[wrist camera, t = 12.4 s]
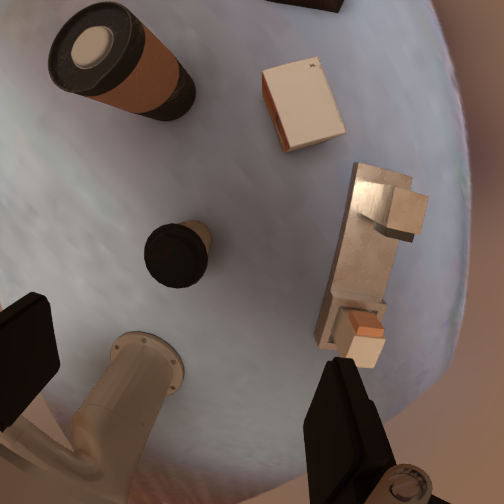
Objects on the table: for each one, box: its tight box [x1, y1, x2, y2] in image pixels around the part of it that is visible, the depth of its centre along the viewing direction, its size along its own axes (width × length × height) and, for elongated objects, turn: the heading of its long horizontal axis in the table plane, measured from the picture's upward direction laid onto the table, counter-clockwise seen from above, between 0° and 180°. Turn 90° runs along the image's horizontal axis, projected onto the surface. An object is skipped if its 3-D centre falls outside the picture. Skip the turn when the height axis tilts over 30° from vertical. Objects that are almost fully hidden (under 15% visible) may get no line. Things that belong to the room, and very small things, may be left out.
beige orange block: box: [331, 306, 386, 368], centre depth 35 cm, size 5×4×8 cm
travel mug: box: [48, 2, 196, 121], centre depth 24 cm, size 8×8×20 cm
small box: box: [262, 57, 346, 153], centre depth 29 cm, size 8×6×10 cm
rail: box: [314, 162, 429, 351], centre depth 34 cm, size 24×8×10 cm, turn 171°
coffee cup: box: [144, 220, 211, 288], centre depth 34 cm, size 7×7×10 cm
